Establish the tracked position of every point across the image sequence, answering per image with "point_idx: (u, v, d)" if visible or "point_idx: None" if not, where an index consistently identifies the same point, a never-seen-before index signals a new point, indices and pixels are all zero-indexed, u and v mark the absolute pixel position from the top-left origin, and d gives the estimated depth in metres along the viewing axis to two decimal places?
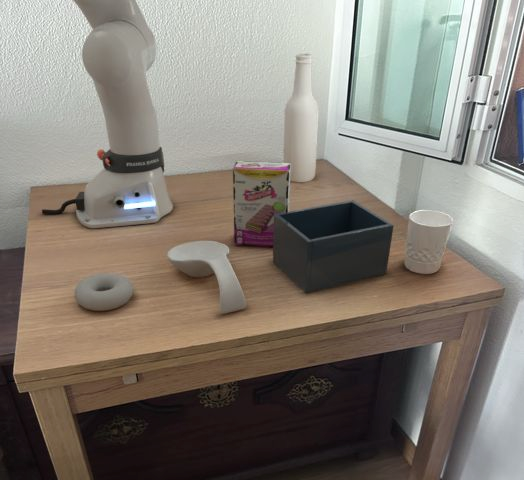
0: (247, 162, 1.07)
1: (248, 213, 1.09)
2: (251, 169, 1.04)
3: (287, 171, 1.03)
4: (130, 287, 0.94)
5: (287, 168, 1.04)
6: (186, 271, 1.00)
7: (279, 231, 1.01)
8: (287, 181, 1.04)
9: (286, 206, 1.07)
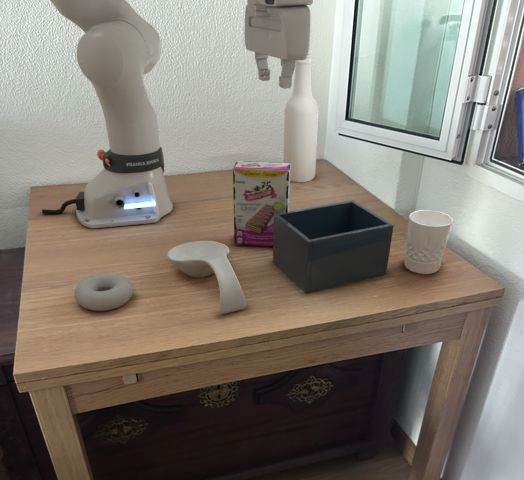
0: (247, 162, 1.07)
1: (248, 213, 1.09)
2: (251, 169, 1.04)
3: (287, 171, 1.03)
4: (130, 287, 0.94)
5: (287, 168, 1.04)
6: (186, 271, 1.00)
7: (279, 231, 1.01)
8: (287, 181, 1.04)
9: (286, 206, 1.07)
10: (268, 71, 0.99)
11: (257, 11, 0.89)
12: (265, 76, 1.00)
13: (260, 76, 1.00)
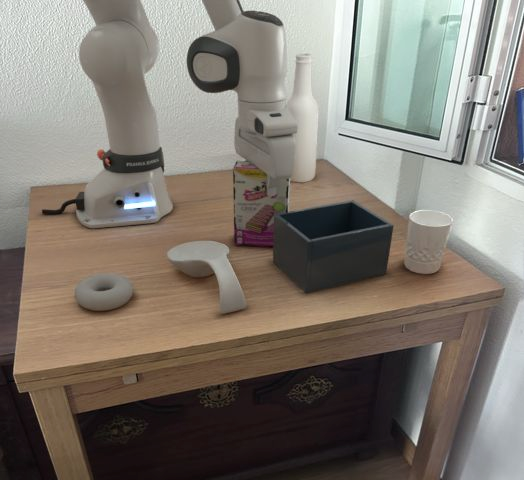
0: (247, 162, 1.07)
1: (248, 213, 1.09)
2: (251, 169, 1.04)
3: None
4: (130, 287, 0.94)
5: None
6: (186, 271, 1.00)
7: (279, 231, 1.01)
8: (287, 181, 1.04)
9: (286, 206, 1.07)
10: None
11: (247, 132, 1.00)
12: None
13: None
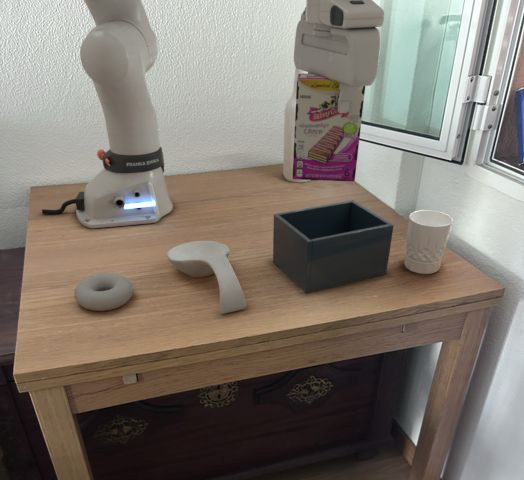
0: (312, 74, 0.89)
1: (312, 137, 0.91)
2: (319, 79, 0.86)
3: None
4: (130, 287, 0.94)
5: None
6: (186, 271, 1.00)
7: (279, 231, 1.01)
8: (362, 95, 0.86)
9: (359, 127, 0.89)
10: None
11: (317, 30, 0.82)
12: None
13: None
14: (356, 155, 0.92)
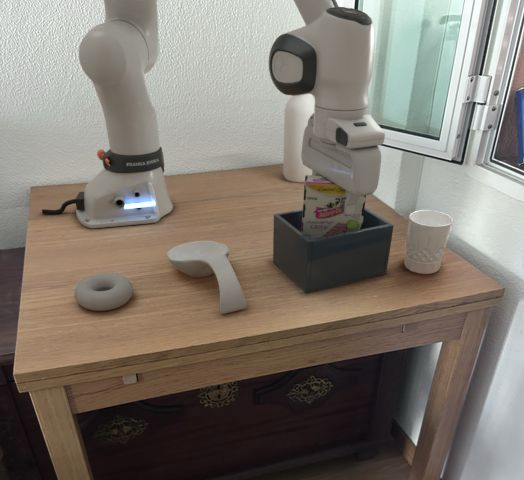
0: (318, 176, 0.97)
1: (318, 232, 0.99)
2: (325, 184, 0.94)
3: None
4: (130, 287, 0.94)
5: None
6: (186, 271, 1.00)
7: (279, 231, 1.01)
8: (364, 197, 0.95)
9: (361, 224, 0.98)
10: None
11: (323, 142, 0.90)
12: None
13: None
14: None
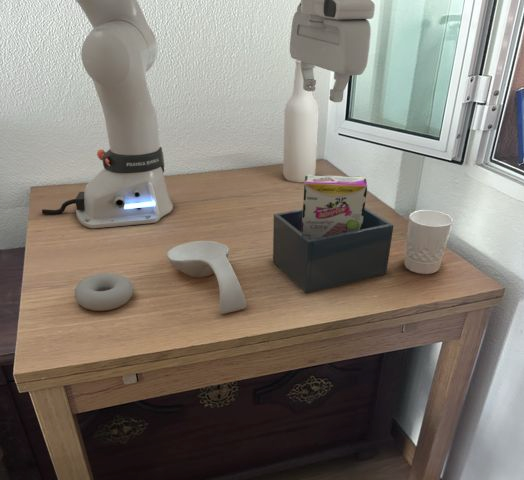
0: (318, 176, 0.97)
1: (318, 232, 0.99)
2: (325, 184, 0.94)
3: (365, 186, 0.94)
4: (130, 287, 0.94)
5: (364, 183, 0.94)
6: (186, 271, 1.00)
7: (279, 231, 1.01)
8: (364, 197, 0.95)
9: (361, 224, 0.98)
10: (314, 81, 0.96)
11: (312, 21, 0.86)
12: (310, 86, 0.97)
13: (305, 86, 0.97)
14: None
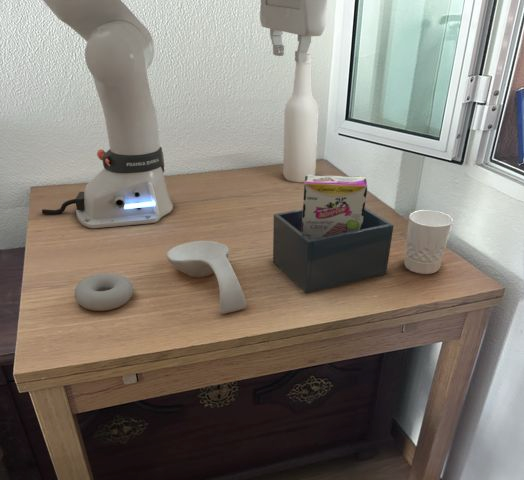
0: (318, 176, 0.97)
1: (318, 232, 0.99)
2: (325, 184, 0.94)
3: (365, 186, 0.94)
4: (130, 287, 0.94)
5: (364, 183, 0.94)
6: (186, 271, 1.00)
7: (279, 231, 1.01)
8: (364, 197, 0.95)
9: (361, 224, 0.98)
10: (282, 47, 1.08)
11: None
12: (279, 51, 1.08)
13: (275, 51, 1.08)
14: None
